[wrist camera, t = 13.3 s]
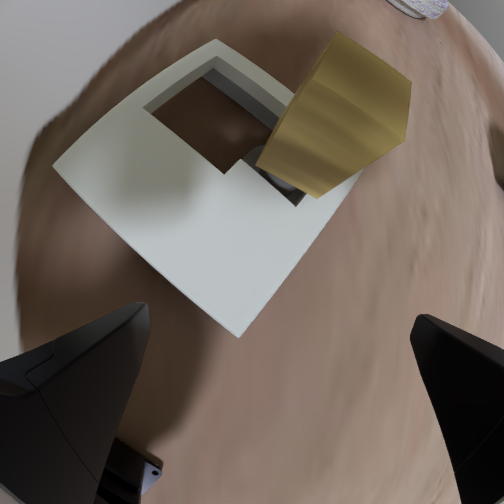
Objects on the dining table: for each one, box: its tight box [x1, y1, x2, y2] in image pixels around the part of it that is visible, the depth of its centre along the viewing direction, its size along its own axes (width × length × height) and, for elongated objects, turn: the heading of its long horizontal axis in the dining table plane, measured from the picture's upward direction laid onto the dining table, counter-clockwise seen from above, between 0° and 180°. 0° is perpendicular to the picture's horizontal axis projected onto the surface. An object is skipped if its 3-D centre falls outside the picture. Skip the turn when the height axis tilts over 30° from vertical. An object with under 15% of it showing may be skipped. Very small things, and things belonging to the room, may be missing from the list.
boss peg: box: [242, 31, 412, 205], centre depth 16 cm, size 6×6×13 cm
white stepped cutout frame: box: [52, 39, 366, 338], centre depth 19 cm, size 15×15×4 cm
